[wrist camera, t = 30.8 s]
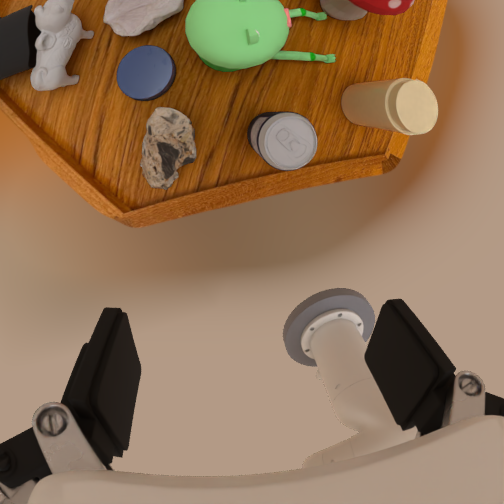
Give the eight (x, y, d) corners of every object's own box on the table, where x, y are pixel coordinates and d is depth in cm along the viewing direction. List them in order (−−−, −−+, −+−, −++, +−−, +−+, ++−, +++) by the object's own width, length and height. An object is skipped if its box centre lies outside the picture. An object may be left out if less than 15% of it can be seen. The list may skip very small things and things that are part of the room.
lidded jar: (378, 129, 36) (437, 142, 25) (339, 122, 35) (391, 130, 24) (381, 88, 33) (441, 86, 22) (342, 79, 33) (395, 70, 21)
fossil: (93, 4, 22) (153, -48, 17) (125, 8, 27) (181, -34, 22) (115, 49, 25) (182, -3, 20) (147, 50, 30) (208, 8, 26)
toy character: (330, 71, 33) (386, 59, 22) (193, 88, 31) (193, 71, 20) (317, 9, 29) (366, -23, 17) (181, 21, 27) (177, -22, 15)
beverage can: (270, 163, 37) (292, 185, 27) (237, 135, 35) (245, 144, 24) (299, 132, 36) (333, 142, 25) (267, 103, 34) (290, 98, 23)
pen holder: (-27, 106, 20) (36, 78, 24) (-47, 53, 12) (23, 18, 15) (-12, 70, 22) (44, 47, 26) (-24, 23, 14) (37, -4, 18)
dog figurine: (105, 6, 24) (73, -20, 15) (77, 92, 29) (35, 90, 20) (73, 8, 23) (36, -14, 13) (47, 91, 28) (2, 91, 19)
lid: (176, 45, 28) (174, 42, 27) (174, 98, 31) (171, 97, 30) (122, 51, 28) (117, 48, 26) (120, 102, 31) (115, 102, 29)
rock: (212, 194, 37) (221, 135, 28) (158, 214, 34) (152, 155, 25) (184, 148, 39) (188, 91, 30) (136, 164, 36) (128, 106, 28)
